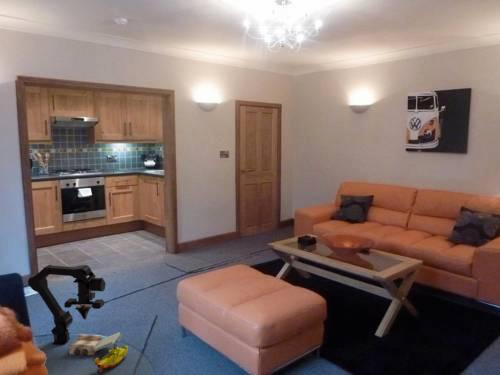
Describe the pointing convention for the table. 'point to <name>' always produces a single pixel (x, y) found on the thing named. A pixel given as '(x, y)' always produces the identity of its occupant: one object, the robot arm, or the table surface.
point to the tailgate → (108, 341)
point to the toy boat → (112, 357)
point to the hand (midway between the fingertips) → (85, 319)
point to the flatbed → (85, 344)
